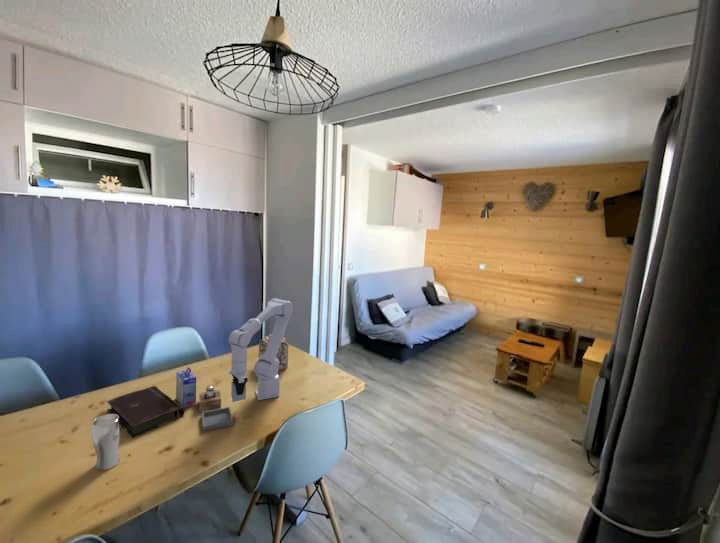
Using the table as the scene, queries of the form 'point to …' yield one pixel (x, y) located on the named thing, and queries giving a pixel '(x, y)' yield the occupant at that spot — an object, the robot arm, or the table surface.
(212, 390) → the cylinder
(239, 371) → the robot arm
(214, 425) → the tray
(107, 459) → the beer glass
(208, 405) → the bore block
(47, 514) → the table surface
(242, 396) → the block
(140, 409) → the diary
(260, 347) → the decorative jar
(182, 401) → the ink cartridge box
